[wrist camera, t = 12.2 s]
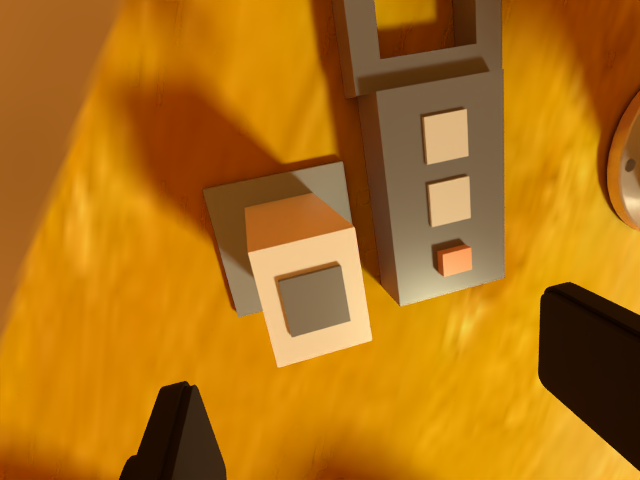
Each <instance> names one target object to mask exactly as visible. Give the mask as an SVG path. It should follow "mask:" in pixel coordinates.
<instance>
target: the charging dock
mask: <svg viewBox="0 0 640 480" xmlns="http://www.w3.org/2000/svg"><path fill="white" fill-rule="evenodd" d="M331 1H332V8H333V15H334V22H335V29H336V36H337V43H338V51H339V58H340V65H341V72H342V79H343V86H344V94H345V99H349V98H355V97H357V100H358V108H359V116H360V124H361V131H362V139H363V147H364V155H365V162H366V170H367V178H368V185H369V193H370V201H371V209H372V216H373V224H374V232H375V240H376V247H377V255H378V263H379V270H380V278H381V286H382V287H383V288H384V289H385V290H386V291H387V293H388V294H389V295H390V296H391V297H392V298H393V299H394V300H395V301H396V302H397V303H398V304H399V306H404V305H407V304H411V303H415V302H418V301H422V300H426V299H429V298H433V297H437V296H440V295H444V294H448V293H451V292H455V291H458V290H462V289H466V288H469V287H473V286H477V285H480V284H484V283H488V282H491V281H495V280H498V279H502V278H505V264H504V77H503V69H502V0H453V15H454V37H455V47H453V48H447V49H440V50H434V51H428V52H422V53H416V54H410V55H403V56H397V57H391V58H385V59H380V52H379V42H378V33H377V23H376V14H375V5H374V0H331Z"/></svg>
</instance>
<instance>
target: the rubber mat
mask: <svg viewBox="0 0 640 480" xmlns="http://www.w3.org/2000/svg"><path fill="white" fill-rule="evenodd" d="M202 191H203V194H204V198H205V201H206V205H207V208H208V212H209V215H210V219H211V222H212V226H213V230H214V233H215V237H216V240H217V244H218V247H219V251H220V254H221V258H222V261H223V265H224V268H225V272H226V276H227V279H228V283H229V286H230V290H231V293H232V297H233V300H234V304H235V307H236V311H237V314H238V317H242V316H246V315H249V314H253V313H257V312H261V311H263V309H262V305H261V301H260V297H259V293H258V290H257V286H256V282H255V278H254V274H253V271H252V267H251V263H250V259H249V255H248V248H247V235H246V221H245V208H246V207H250V206H255V205H259V204H264V203H268V202H273V201H277V200H282V199H286V198H291V197H295V196H300V195H304V194H309V193H314V194H315V195H317V196H318V197H319V198H320V199H321V200H323V201H324V202H325V203H326V204H327V205H329V206H330V207H331V208H332V209H333V210H335V211H336V212H337V213H338V214H340V215H341V216H342V217H343V218H344V219H346V220H347V221H348V222H349V223H350V224H352V219H351V212H350V205H349V199H348V192H347V185H346V179H345V172H344V165H343V161H337V162H332V163H327V164H322V165H318V166H313V167H308V168H303V169H298V170H293V171H288V172H283V173H278V174H273V175H269V176H264V177H259V178H254V179H249V180H244V181H239V182H234V183H229V184H224V185H220V186H215V187H210V188H205V189H203V190H202Z"/></svg>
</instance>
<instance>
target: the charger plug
mask: <svg viewBox="0 0 640 480" xmlns="http://www.w3.org/2000/svg"><path fill="white" fill-rule="evenodd" d="M245 221H246V235H247V248H248V255H249V259H250V263H251V267H252V271H253V274H254V278H255V282H256V286H257V290H258V293H259V297H260V301H261V305H262V309H263V312H264V316H265V320H266V324H267V328H268V331H269V335H270V339H271V343H272V347H273V351H274V354H275V358H276V362H277V366H278V368H279V367H283V366H286V365H289V364H293V363H296V362H300V361H303V360H307V359H310V358H313V357H317V356H320V355H324V354H327V353H331V352H334V351H337V350H341V349H344V348H348V347H351V346H355V345H358V344H361V343H365V342H368V341H372V336H371V329H370V323H369V316H368V310H367V303H366V297H365V290H364V284H363V277H362V271H361V264H360V258H359V251H358V245H357V238H356V232H355V227H354V226H353V225H352V224H350V223H349V222H348V221H347V220H346V219H344V218H343V217H342V216H341V215H340V214H338V213H337V212H336V211H335V210H333V209H332V208H331V207H330V206H329V205H327V204H326V203H325V202H324V201H323V200H321V199H320V198H319V197H318V196H317V195H315V194H314V193H309V194H304V195H300V196H295V197H291V198H286V199H282V200H277V201H273V202H268V203H264V204H259V205H255V206H250V207H246V208H245Z"/></svg>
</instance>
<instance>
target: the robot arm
mask: <svg viewBox="0 0 640 480" xmlns="http://www.w3.org/2000/svg"><path fill="white" fill-rule="evenodd" d="M607 186H608V191H609V195H610V200H611V203H612V205H613V207H614V209H615V211H616V213H617V214H618V216H619V217H620V218H621V219H622V221H623V222H624V223H626V224H627V225H628V226H630V227H631V228H633V229H635V230H638V231H640V91H639V92H638V93H637V95H636V96H635V97H634V98H633V100H632V101H631V103H630V104H629V106H628V108H627V109H626V111H625V113H624V114H623V116H622V118H621V120H620V122H619V125H618V127H617V129H616V132H615V134H614V137H613V141H612V144H611V148H610V151H609V157H608V165H607ZM538 375H539V379H540V381H541V383H542V384H543V386H544V387H545V388H546V389H547V390H548V391H550V392H551V393H552V394H553V395H554V396H555V397H556V398H557V399H559V400H560V401H561V402H562V403H563V404H564V405H565V406H566V407H568V408H569V409H570V410H571V411H572V412H573V413H574V414H576V415H577V416H578V417H579V418H580V419H581V420H582V421H583V422H585V423H586V424H587V425H588V426H589V427H590V428H591V429H592V430H594V431H595V432H596V433H597V434H598V435H599V436H600V437H601V438H603V439H604V440H605V441H606V442H607V443H608V444H609V445H611V446H612V447H613V448H614V449H615V450H616V451H617V452H618V453H620V454H621V455H622V456H623V457H624V458H625V459H626V460H627V461H629V462H630V463H631V464H632V465H633V466H634V467H635V468H636V469H638V470H639V471H640V315H638V314H636V313H634V312H632V311H630V310H628V309H626V308H624V307H622V306H620V305H618V304H615V303H613V302H611V301H609V300H607V299H605V298H603V297H601V296H599V295H597V294H595V293H593V292H591V291H588V290H586V289H584V288H582V287H580V286H578V285H576V284H574V283H571V282H566V283H562V284H558V285H554V286H551V287H548V288H546V290H545V291H544V294H543V295H542V296H541V300H540V332H539V364H538ZM119 480H227V478H226V468H225V464H224V461H223V458H222V455H221V452H220V450H219V447H218V444H217V441H216V438H215V435H214V432H213V430H212V427H211V424H210V421H209V418H208V415H207V412H206V410H205V407H204V404H203V401H202V398H201V395H200V393H199V390H198V387H197V386H196V385H192V386H190V385H189V383H188V382H187V381H183V382H179V383H175V384H172V385H168V386H164V387H162V388H161V389H160V391H159V393H158V396H157V399H156V402H155V405H154V407H153V410H152V413H151V416H150V419H149V422H148V424H147V427H146V430H145V433H144V436H143V438H142V441H141V444H140V447H139V450H138V452H137V455H133V456H131V457H130V458H129V459H128V460H127V462H126V464H125V466H124V468H123V470H122V473H121V476H120V478H119Z"/></svg>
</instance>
